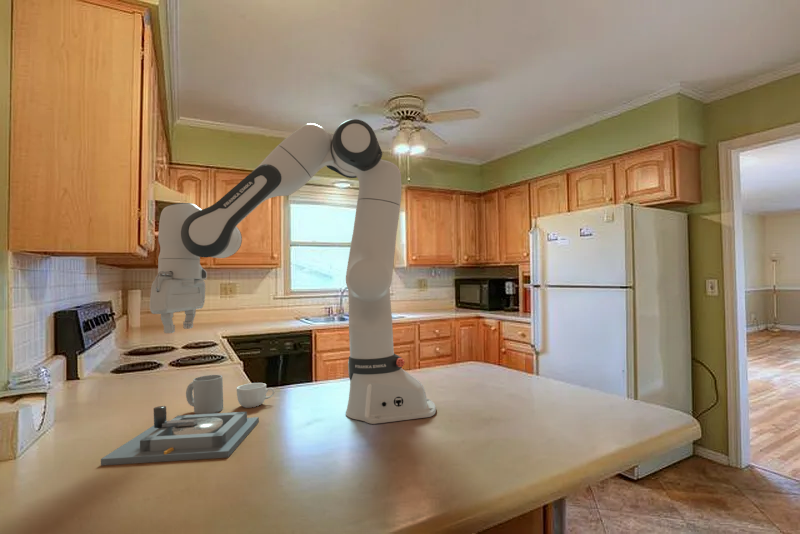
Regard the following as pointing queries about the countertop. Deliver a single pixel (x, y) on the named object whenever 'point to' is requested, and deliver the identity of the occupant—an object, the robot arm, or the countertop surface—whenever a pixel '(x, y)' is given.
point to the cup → (206, 394)
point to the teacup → (252, 394)
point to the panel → (175, 455)
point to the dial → (186, 423)
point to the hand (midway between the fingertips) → (179, 330)
